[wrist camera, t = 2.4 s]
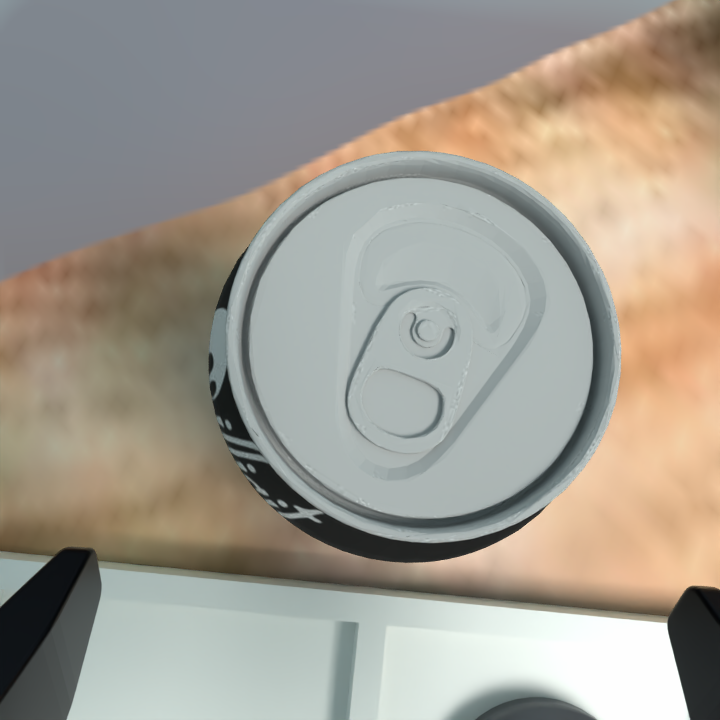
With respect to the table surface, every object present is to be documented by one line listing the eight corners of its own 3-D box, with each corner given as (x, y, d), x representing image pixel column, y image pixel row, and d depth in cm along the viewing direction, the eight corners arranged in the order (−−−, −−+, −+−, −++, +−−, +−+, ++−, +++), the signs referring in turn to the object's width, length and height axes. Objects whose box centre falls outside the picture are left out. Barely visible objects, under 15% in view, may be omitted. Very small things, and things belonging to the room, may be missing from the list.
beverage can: (477, 365, 21) (697, 218, 10) (414, 552, 20) (581, 651, 8) (298, 295, 21) (298, 59, 9) (221, 479, 20) (108, 471, 8)
